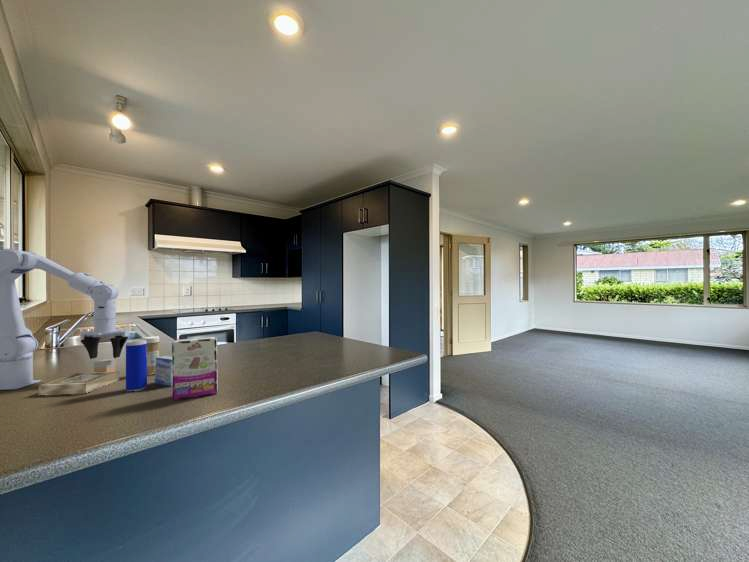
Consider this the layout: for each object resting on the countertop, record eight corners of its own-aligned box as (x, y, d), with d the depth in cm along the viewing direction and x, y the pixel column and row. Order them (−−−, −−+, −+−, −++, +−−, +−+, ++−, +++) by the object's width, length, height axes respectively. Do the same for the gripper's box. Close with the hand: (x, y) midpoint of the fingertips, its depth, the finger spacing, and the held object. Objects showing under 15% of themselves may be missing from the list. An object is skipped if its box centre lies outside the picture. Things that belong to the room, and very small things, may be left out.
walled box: (38, 395, 89) (38, 385, 89) (77, 381, 102) (77, 372, 102) (86, 393, 90) (86, 383, 90) (119, 380, 103) (119, 371, 103)
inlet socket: (58, 390, 92) (58, 382, 92) (79, 382, 99) (79, 375, 99) (84, 389, 93) (84, 381, 93) (103, 382, 100) (103, 374, 100)
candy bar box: (218, 389, 93) (217, 335, 93) (217, 394, 89) (217, 338, 89) (174, 395, 88) (174, 338, 89) (171, 401, 84) (171, 341, 84)
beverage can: (150, 387, 95) (150, 339, 95) (133, 393, 90) (133, 342, 91) (139, 385, 97) (139, 338, 97) (121, 391, 92) (121, 341, 92)
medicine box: (154, 384, 99) (154, 357, 99) (168, 380, 103) (168, 354, 103) (171, 387, 96) (171, 359, 96) (184, 382, 100) (184, 356, 100)
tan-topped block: (94, 379, 104) (94, 362, 104) (103, 376, 108) (103, 359, 108) (106, 379, 105) (106, 361, 105) (115, 375, 109) (115, 359, 109)
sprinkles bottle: (158, 371, 113) (158, 335, 113) (159, 374, 110) (159, 337, 110) (143, 373, 110) (143, 336, 111) (144, 376, 107) (144, 338, 107)
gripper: (72, 320, 102) (72, 361, 102) (118, 319, 103) (118, 359, 103) (90, 318, 109) (90, 356, 109) (133, 317, 110) (133, 355, 110)
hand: (105, 357), depth 106 cm, fingers open, 7 cm apart
